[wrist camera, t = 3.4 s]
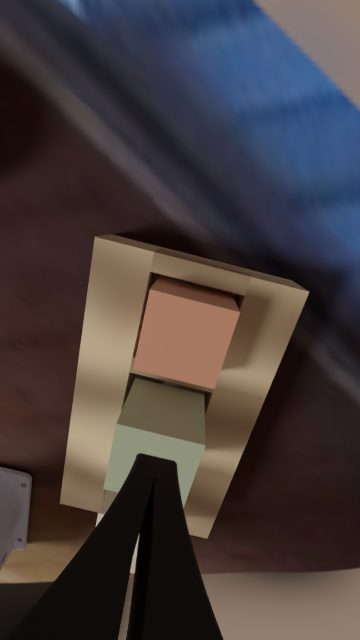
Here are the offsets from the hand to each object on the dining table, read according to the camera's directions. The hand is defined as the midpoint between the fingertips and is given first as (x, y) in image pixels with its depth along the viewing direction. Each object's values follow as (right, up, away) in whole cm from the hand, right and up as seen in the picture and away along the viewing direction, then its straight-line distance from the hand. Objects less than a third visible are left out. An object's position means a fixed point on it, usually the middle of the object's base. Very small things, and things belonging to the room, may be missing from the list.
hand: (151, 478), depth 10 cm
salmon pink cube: (+1, +6, +7) cm, 9 cm away
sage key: (0, 0, +8) cm, 8 cm away
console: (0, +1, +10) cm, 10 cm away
